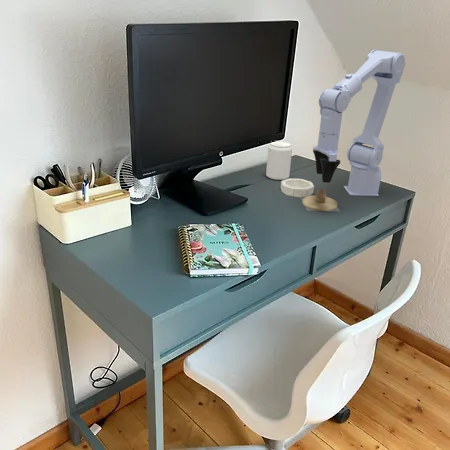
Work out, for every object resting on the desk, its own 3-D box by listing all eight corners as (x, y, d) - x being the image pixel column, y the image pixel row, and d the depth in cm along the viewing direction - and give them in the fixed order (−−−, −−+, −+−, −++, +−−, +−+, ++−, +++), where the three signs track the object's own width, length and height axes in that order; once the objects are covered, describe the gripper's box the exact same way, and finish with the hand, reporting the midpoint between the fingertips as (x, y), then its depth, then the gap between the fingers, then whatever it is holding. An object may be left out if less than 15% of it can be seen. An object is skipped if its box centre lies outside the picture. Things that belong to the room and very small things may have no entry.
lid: (332, 198, 156) (334, 185, 154) (341, 211, 146) (343, 197, 144) (299, 197, 155) (301, 184, 153) (306, 210, 146) (307, 196, 144)
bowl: (308, 187, 165) (309, 179, 164) (315, 198, 156) (316, 189, 155) (278, 186, 165) (279, 178, 163) (283, 197, 156) (284, 188, 154)
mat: (331, 200, 156) (331, 198, 156) (340, 212, 147) (340, 211, 146) (300, 199, 155) (300, 198, 155) (306, 211, 146) (306, 210, 146)
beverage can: (290, 181, 170) (293, 147, 165) (266, 180, 170) (269, 146, 165) (287, 173, 178) (291, 141, 173) (265, 172, 178) (268, 139, 173)
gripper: (310, 126, 148) (305, 169, 153) (321, 138, 135) (315, 185, 140) (333, 126, 148) (327, 170, 154) (346, 139, 135) (339, 186, 141)
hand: (323, 177), depth 147 cm, fingers open, 7 cm apart
